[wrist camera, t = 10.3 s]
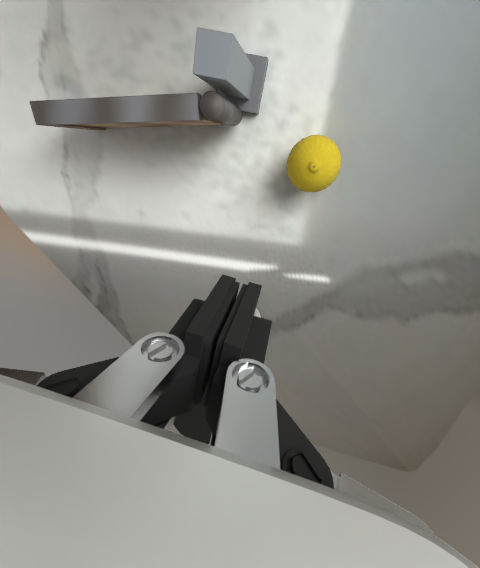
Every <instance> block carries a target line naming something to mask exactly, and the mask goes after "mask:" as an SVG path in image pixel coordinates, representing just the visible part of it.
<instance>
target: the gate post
mask: <svg viewBox="0 0 480 568" xmlns="http://www.w3.org/2000/svg"><path fill="white" fill-rule="evenodd" d="M267 65H268V58H267V57H262V56H257V55H252V54H246V53H245V52H244V51H243V49H242V48H241V46H240V44H239V43H238V41H237V40H236V38H235V36H234V35H233V34H231V33H225V32H220V31H214V30H208V29H203V28H197V33H196V45H195V56H194V68H193V74H195V75H196V76H198V77H199V78H201V79H202V80H204V81H205V82H207V83H208V84H210V85H211V86H213V87H214V88H216V93H217V94H219V95H220V96H222V97H223V98H225V99H227V100H228V101H230V102H232V103H233V104H235V105H236V106H238V107H239V108H240V109H241V111H245V112H250V113H254V114H258V113H259V108H260V102H261V97H262V92H263V86H264V81H265V76H266V70H267Z"/></svg>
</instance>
